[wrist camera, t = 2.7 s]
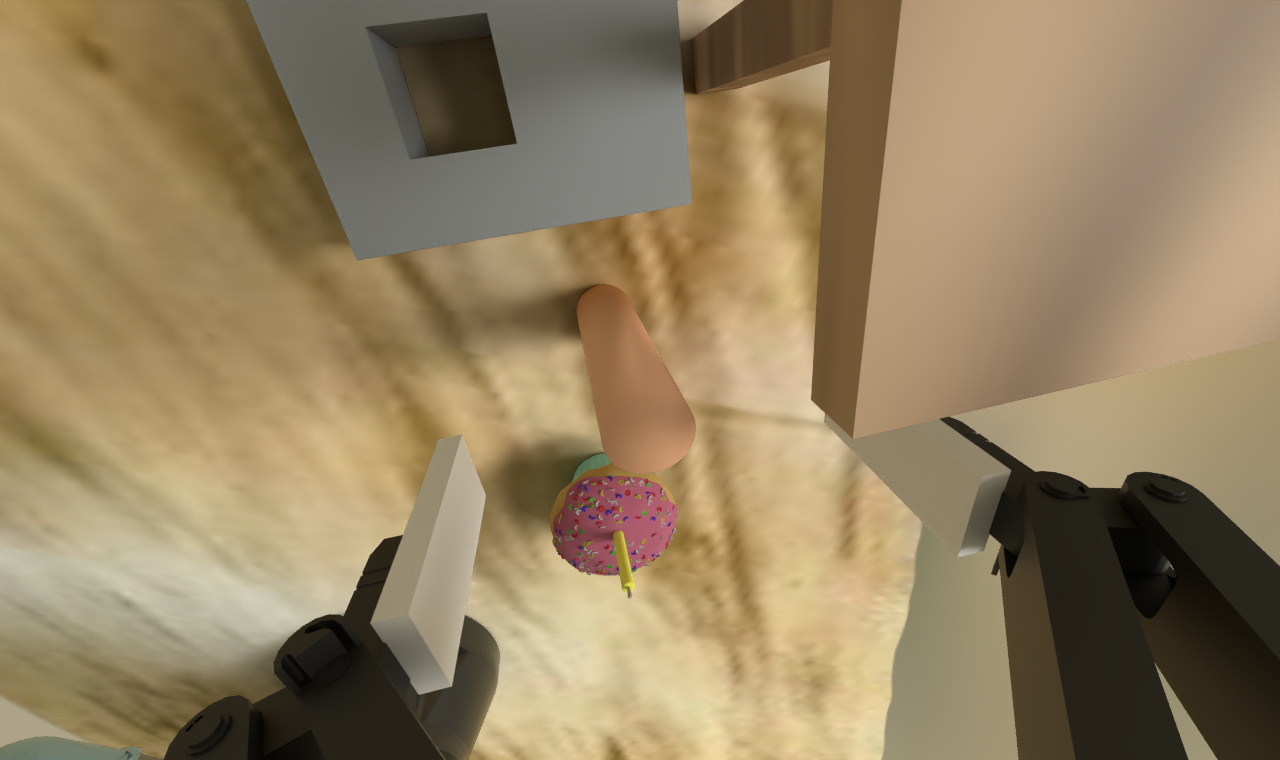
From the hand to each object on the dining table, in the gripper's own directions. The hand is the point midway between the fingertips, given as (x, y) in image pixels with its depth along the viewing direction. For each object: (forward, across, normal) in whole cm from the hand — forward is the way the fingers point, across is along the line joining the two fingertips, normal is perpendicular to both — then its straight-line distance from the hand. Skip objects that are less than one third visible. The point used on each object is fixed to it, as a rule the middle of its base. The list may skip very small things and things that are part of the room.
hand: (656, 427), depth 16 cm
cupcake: (+14, -2, -13) cm, 19 cm away
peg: (+14, 0, 0) cm, 14 cm away
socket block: (+14, -4, +12) cm, 19 cm away
